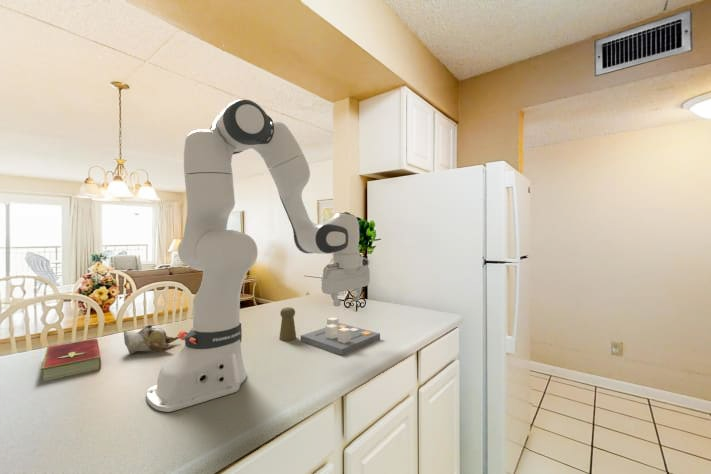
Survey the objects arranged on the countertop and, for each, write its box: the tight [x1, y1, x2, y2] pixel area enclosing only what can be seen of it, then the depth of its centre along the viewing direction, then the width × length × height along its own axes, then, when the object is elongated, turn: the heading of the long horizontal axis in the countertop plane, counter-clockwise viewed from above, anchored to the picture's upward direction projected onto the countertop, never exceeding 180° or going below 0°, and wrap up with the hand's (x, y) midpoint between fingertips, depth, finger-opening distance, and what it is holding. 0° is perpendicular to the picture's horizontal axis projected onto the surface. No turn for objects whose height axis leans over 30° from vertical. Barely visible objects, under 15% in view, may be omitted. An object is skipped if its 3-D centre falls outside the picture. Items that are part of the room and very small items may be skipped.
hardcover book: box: [40, 338, 102, 382], centre depth 93 cm, size 12×21×4 cm, turn 41°
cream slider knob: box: [338, 327, 351, 344], centre depth 105 cm, size 3×3×4 cm
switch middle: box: [324, 324, 338, 339], centre depth 109 cm, size 3×3×4 cm
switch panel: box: [300, 322, 381, 356], centre depth 112 cm, size 20×20×2 cm
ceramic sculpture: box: [123, 324, 179, 355], centre depth 102 cm, size 11×9×15 cm
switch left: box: [326, 317, 339, 326], centre depth 117 cm, size 3×3×4 cm
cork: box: [279, 307, 297, 342], centre depth 114 cm, size 6×6×11 cm
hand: (347, 303), depth 105 cm, fingers open, 8 cm apart
